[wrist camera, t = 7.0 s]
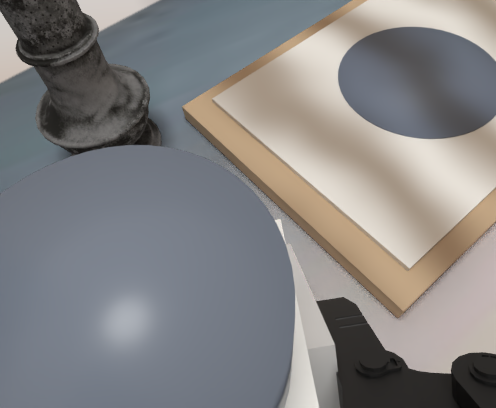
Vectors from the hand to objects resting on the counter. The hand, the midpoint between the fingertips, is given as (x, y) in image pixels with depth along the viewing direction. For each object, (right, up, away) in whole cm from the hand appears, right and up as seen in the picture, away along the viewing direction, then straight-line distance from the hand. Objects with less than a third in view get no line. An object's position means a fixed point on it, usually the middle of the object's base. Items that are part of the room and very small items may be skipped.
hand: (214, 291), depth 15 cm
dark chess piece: (-6, +6, +9) cm, 13 cm away
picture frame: (+11, +10, +9) cm, 17 cm away
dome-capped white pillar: (+1, -5, +1) cm, 5 cm away
